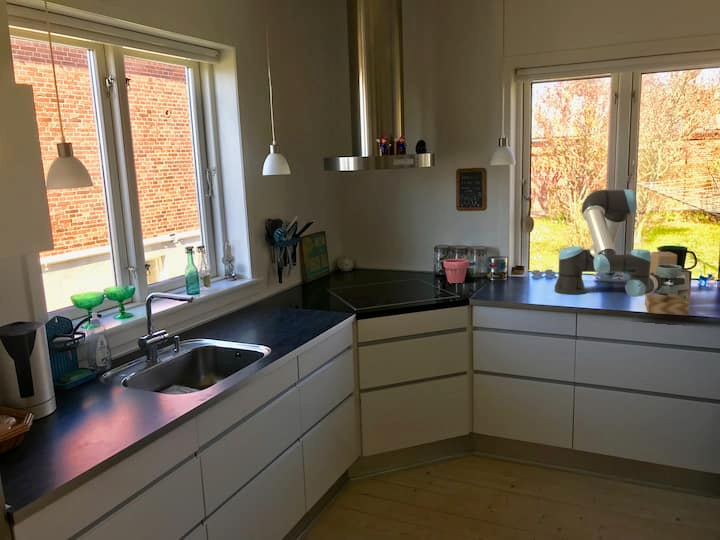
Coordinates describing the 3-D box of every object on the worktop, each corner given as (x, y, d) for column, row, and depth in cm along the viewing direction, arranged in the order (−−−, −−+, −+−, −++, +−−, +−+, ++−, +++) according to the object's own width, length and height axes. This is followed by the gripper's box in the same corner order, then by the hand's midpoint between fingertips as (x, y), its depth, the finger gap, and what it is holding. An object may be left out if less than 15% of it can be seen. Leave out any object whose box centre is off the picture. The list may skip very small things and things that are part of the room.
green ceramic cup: (671, 289, 278) (672, 263, 276) (685, 294, 268) (687, 267, 266) (650, 290, 277) (651, 264, 275) (663, 295, 267) (665, 268, 265)
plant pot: (444, 279, 354) (444, 258, 352) (468, 280, 352) (468, 258, 349) (442, 284, 341) (442, 262, 338) (467, 285, 338) (468, 262, 336)
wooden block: (667, 289, 317) (670, 251, 314) (675, 293, 307) (678, 254, 304) (647, 289, 318) (650, 251, 314) (655, 293, 308) (657, 254, 305)
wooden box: (648, 312, 269) (648, 301, 268) (644, 304, 284) (645, 294, 283) (688, 315, 264) (689, 303, 263) (682, 306, 279) (683, 295, 278)
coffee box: (690, 304, 282) (692, 271, 279) (677, 305, 282) (679, 271, 279) (678, 300, 291) (680, 267, 288) (665, 301, 291) (668, 268, 288)
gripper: (624, 288, 269) (647, 281, 283) (675, 295, 252) (697, 288, 266) (625, 272, 268) (648, 265, 282) (677, 278, 251) (698, 271, 265)
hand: (672, 276), depth 274 cm, fingers closed on green ceramic cup, 9 cm apart
